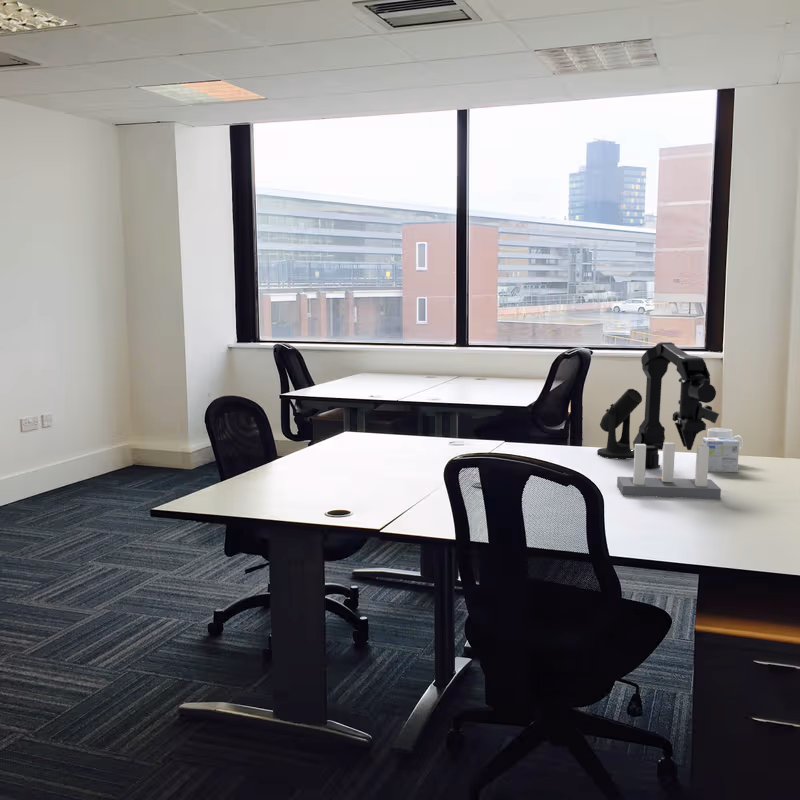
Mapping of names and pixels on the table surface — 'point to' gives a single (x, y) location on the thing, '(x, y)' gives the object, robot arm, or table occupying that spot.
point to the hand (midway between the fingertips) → (687, 448)
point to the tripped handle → (668, 462)
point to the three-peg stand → (677, 488)
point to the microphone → (613, 420)
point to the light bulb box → (722, 454)
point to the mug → (722, 434)
